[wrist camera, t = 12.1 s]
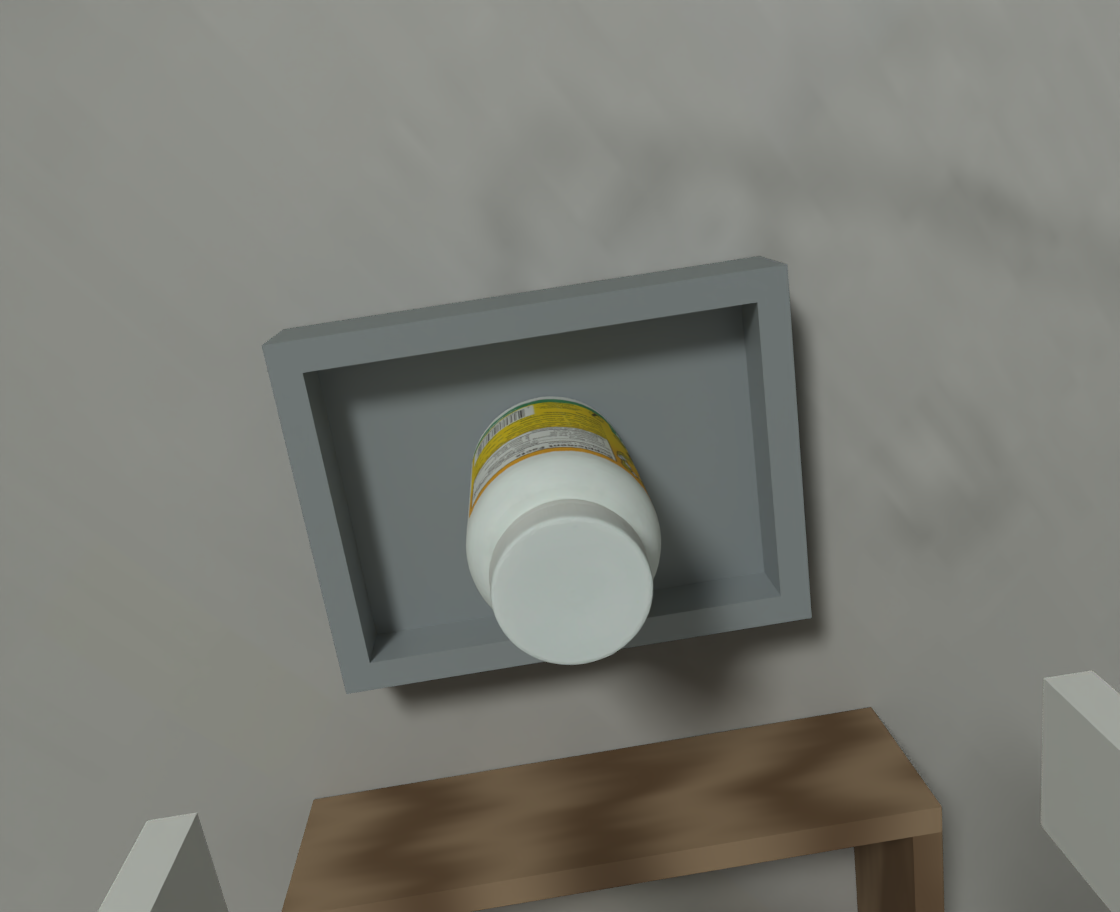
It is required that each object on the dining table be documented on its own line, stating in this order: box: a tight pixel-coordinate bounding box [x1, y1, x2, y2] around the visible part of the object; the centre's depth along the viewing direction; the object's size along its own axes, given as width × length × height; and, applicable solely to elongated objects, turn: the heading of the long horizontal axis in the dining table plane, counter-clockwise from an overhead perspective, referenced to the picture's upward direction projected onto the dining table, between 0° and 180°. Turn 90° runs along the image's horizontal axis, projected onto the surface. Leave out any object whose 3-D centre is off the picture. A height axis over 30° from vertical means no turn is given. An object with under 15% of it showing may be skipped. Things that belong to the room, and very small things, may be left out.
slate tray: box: [262, 256, 812, 694], centre depth 31 cm, size 16×12×3 cm
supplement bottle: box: [466, 396, 661, 665], centre depth 27 cm, size 5×5×10 cm
